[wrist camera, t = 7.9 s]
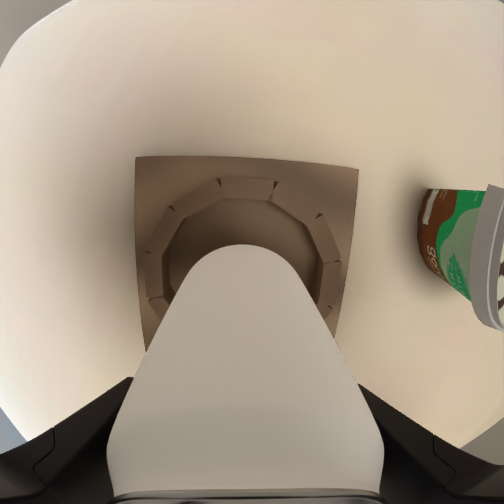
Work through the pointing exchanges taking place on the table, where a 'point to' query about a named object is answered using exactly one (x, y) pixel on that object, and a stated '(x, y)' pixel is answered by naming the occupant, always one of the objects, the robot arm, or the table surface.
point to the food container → (467, 246)
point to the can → (244, 398)
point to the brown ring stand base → (241, 223)
